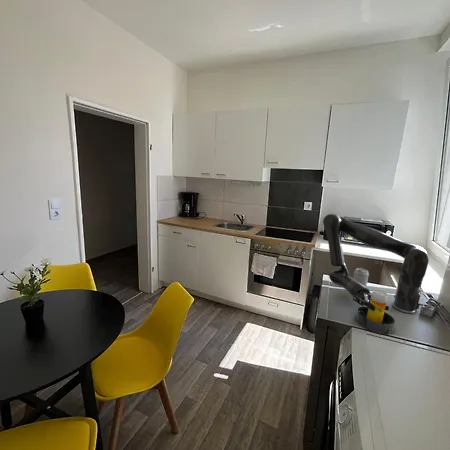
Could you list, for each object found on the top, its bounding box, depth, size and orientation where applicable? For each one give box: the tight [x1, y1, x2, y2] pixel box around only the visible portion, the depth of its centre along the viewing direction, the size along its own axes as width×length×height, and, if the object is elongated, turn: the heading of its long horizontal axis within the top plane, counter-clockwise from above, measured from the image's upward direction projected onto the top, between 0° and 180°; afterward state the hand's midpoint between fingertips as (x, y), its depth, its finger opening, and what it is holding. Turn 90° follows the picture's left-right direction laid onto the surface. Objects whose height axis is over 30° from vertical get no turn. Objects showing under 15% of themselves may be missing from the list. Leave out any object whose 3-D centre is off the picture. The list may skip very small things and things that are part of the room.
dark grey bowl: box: [355, 305, 396, 335], centre depth 112 cm, size 15×15×4 cm
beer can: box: [367, 289, 389, 324], centre depth 111 cm, size 6×6×15 cm
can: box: [352, 267, 370, 288], centre depth 146 cm, size 8×8×12 cm
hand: (381, 308), depth 108 cm, fingers closed on beer can, 6 cm apart
